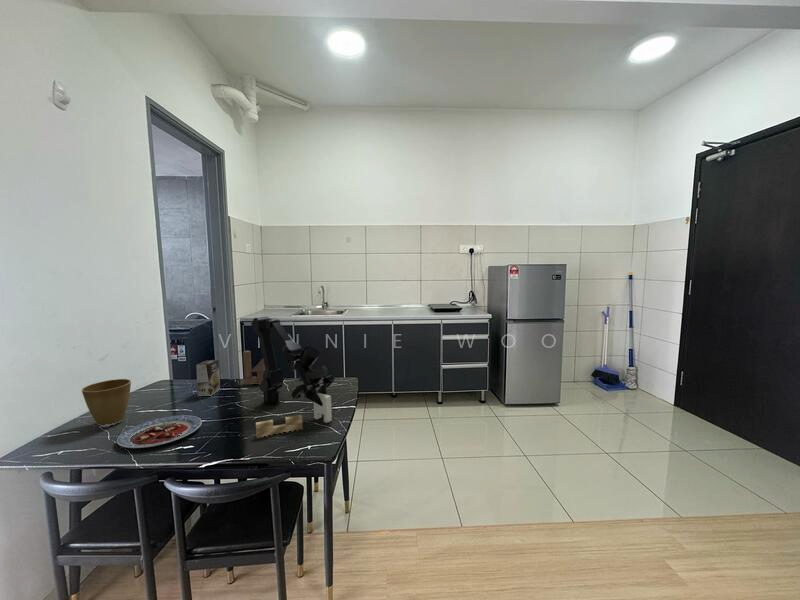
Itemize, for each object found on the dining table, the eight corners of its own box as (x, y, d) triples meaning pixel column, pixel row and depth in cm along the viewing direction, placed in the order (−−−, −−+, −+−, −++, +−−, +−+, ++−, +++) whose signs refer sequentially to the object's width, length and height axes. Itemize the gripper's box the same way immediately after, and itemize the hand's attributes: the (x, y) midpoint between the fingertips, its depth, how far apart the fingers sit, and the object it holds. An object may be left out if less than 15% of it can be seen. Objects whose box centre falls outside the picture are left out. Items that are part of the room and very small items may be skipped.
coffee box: (210, 397, 167) (208, 364, 166) (197, 397, 167) (195, 364, 166) (220, 390, 176) (219, 359, 175) (208, 390, 176) (206, 359, 175)
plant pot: (99, 418, 144) (95, 380, 143) (140, 414, 148) (137, 377, 146) (75, 434, 130) (71, 392, 128) (122, 429, 133) (119, 388, 132)
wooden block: (264, 384, 184) (262, 351, 183) (243, 385, 183) (241, 352, 182) (266, 382, 188) (264, 349, 187) (246, 383, 187) (244, 350, 186)
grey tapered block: (314, 418, 140) (313, 394, 140) (318, 416, 142) (318, 392, 142) (327, 422, 136) (326, 397, 135) (331, 420, 138) (330, 396, 137)
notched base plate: (256, 438, 124) (255, 424, 124) (256, 435, 126) (255, 422, 126) (302, 429, 131) (302, 416, 130) (301, 427, 133) (301, 414, 132)
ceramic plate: (184, 449, 118) (183, 440, 118) (98, 457, 114) (98, 448, 113) (212, 418, 143) (211, 411, 143) (143, 423, 139) (142, 416, 139)
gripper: (295, 366, 132) (315, 400, 127) (331, 356, 147) (351, 386, 142) (283, 383, 137) (302, 416, 132) (319, 371, 152) (338, 401, 147)
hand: (324, 404), depth 138 cm, fingers closed on grey tapered block, 2 cm apart
